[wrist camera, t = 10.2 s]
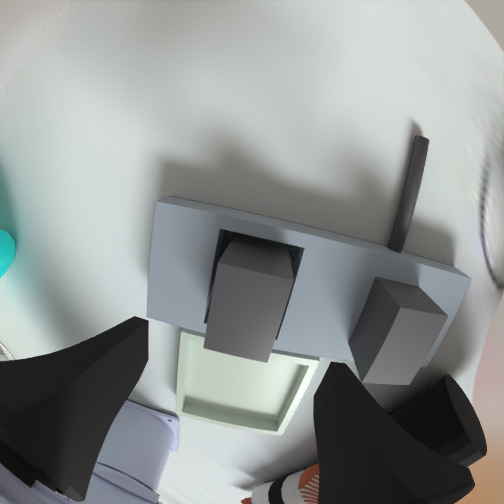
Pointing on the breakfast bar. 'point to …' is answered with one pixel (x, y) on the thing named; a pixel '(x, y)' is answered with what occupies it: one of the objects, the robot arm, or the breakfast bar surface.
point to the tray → (240, 386)
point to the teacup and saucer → (3, 357)
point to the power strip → (317, 284)
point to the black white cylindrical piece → (413, 422)
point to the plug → (249, 297)
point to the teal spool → (6, 251)
